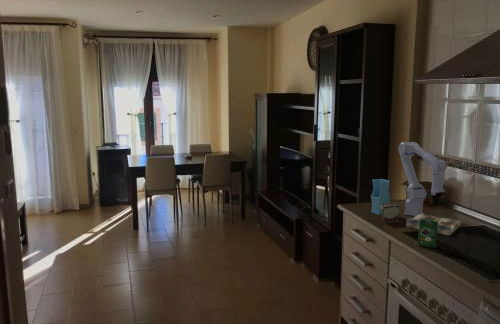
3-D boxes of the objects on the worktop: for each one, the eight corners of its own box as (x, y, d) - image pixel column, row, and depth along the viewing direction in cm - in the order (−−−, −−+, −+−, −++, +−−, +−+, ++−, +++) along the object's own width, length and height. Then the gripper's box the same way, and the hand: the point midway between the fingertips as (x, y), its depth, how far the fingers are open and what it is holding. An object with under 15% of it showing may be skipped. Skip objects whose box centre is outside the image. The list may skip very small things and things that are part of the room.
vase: (370, 211, 256) (371, 179, 253) (380, 210, 259) (382, 178, 256) (378, 215, 249) (380, 182, 246) (389, 213, 252) (391, 181, 249)
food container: (392, 218, 243) (393, 201, 241) (399, 221, 237) (400, 204, 235) (374, 220, 238) (375, 203, 237) (381, 223, 233) (382, 206, 231)
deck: (406, 226, 227) (406, 218, 226) (419, 217, 244) (420, 210, 243) (449, 235, 213) (450, 227, 212) (460, 225, 230) (461, 217, 229)
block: (424, 224, 223) (425, 217, 222) (427, 223, 226) (427, 215, 225) (432, 226, 220) (433, 218, 219) (434, 224, 223) (435, 217, 222)
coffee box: (436, 246, 198) (438, 219, 196) (436, 248, 195) (438, 221, 193) (417, 244, 201) (419, 217, 199) (417, 246, 198) (419, 219, 196)
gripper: (441, 184, 225) (439, 209, 227) (448, 180, 236) (447, 204, 238) (427, 183, 229) (426, 207, 231) (435, 179, 240) (434, 201, 242)
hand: (435, 205), depth 235 cm, fingers closed
